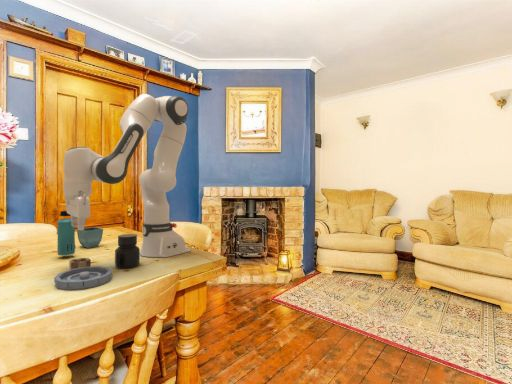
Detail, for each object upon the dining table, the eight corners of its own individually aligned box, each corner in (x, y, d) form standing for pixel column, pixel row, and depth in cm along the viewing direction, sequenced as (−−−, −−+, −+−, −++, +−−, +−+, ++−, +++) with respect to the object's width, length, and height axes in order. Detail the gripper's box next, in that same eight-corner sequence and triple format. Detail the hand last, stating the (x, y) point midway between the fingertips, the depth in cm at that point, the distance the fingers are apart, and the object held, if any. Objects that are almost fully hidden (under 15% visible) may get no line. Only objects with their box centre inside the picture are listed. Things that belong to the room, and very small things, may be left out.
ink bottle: (136, 261, 121) (136, 232, 121) (144, 266, 115) (144, 235, 114) (110, 265, 115) (110, 235, 115) (117, 270, 108) (117, 238, 108)
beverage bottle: (66, 259, 122) (66, 211, 121) (53, 258, 123) (52, 211, 122) (79, 255, 128) (78, 210, 127) (66, 254, 129) (65, 209, 129)
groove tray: (103, 270, 108) (103, 263, 108) (118, 282, 97) (118, 273, 97) (50, 280, 97) (50, 271, 97) (61, 294, 86) (60, 284, 86)
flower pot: (103, 246, 147) (103, 228, 146) (85, 249, 139) (85, 230, 139) (94, 244, 151) (94, 226, 151) (76, 247, 144) (76, 229, 144)
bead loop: (87, 266, 113) (87, 257, 113) (92, 270, 109) (92, 260, 109) (68, 269, 109) (68, 260, 109) (72, 273, 104) (72, 263, 104)
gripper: (95, 191, 102) (95, 231, 103) (80, 189, 117) (80, 224, 118) (74, 192, 98) (74, 233, 98) (62, 189, 113) (62, 225, 113)
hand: (77, 228), depth 108 cm, fingers open, 8 cm apart
